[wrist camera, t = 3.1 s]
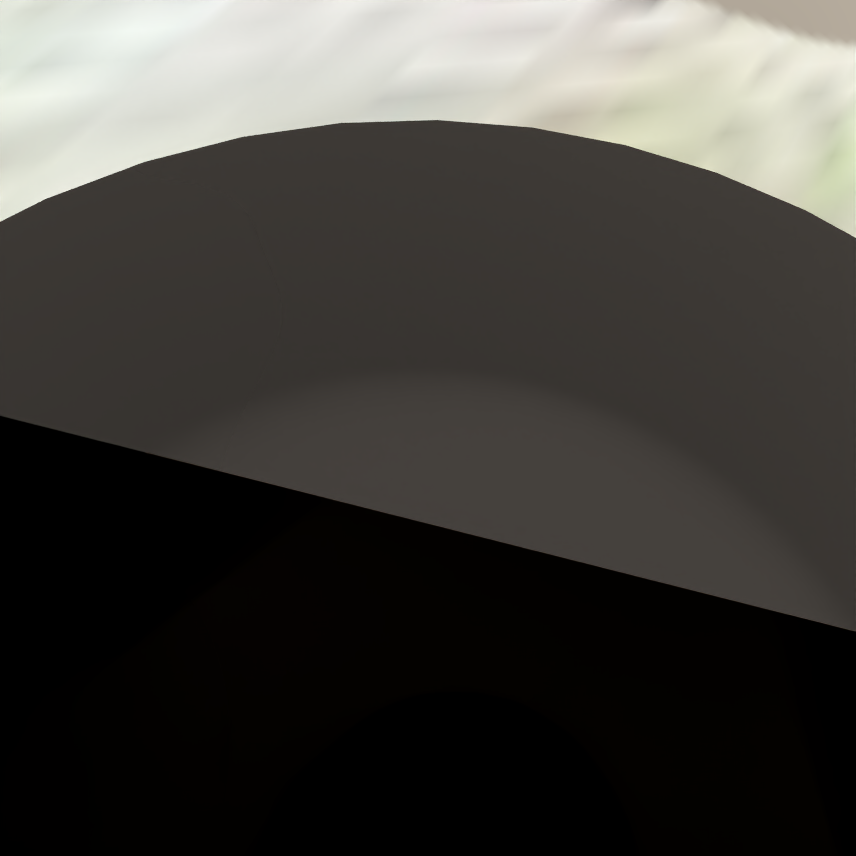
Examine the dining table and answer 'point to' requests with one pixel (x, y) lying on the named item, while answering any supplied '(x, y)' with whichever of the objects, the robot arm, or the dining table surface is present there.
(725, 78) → the dining table surface
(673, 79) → the dining table surface
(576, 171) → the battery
